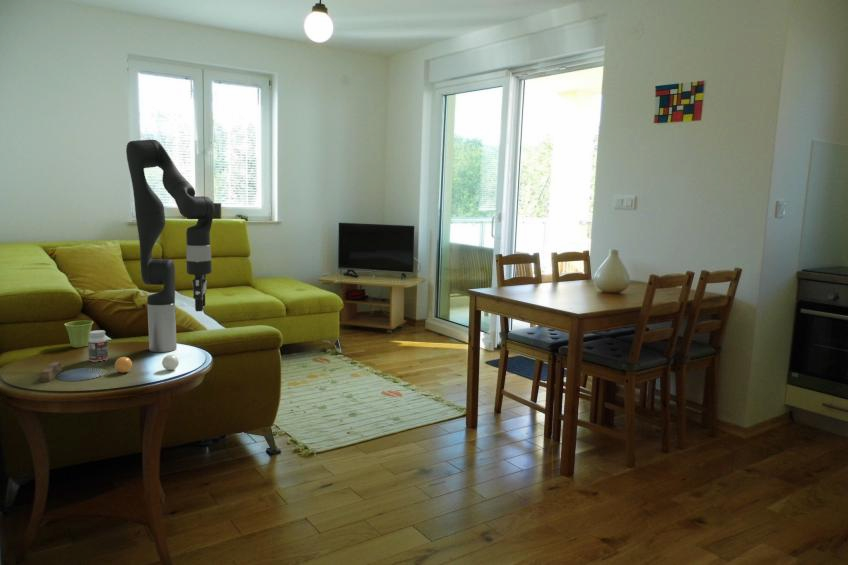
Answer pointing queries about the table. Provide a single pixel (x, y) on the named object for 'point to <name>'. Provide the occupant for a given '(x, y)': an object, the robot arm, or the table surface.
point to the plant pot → (79, 332)
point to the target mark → (78, 374)
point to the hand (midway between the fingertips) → (200, 308)
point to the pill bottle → (98, 346)
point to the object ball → (123, 364)
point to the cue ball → (170, 362)
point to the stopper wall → (51, 371)
